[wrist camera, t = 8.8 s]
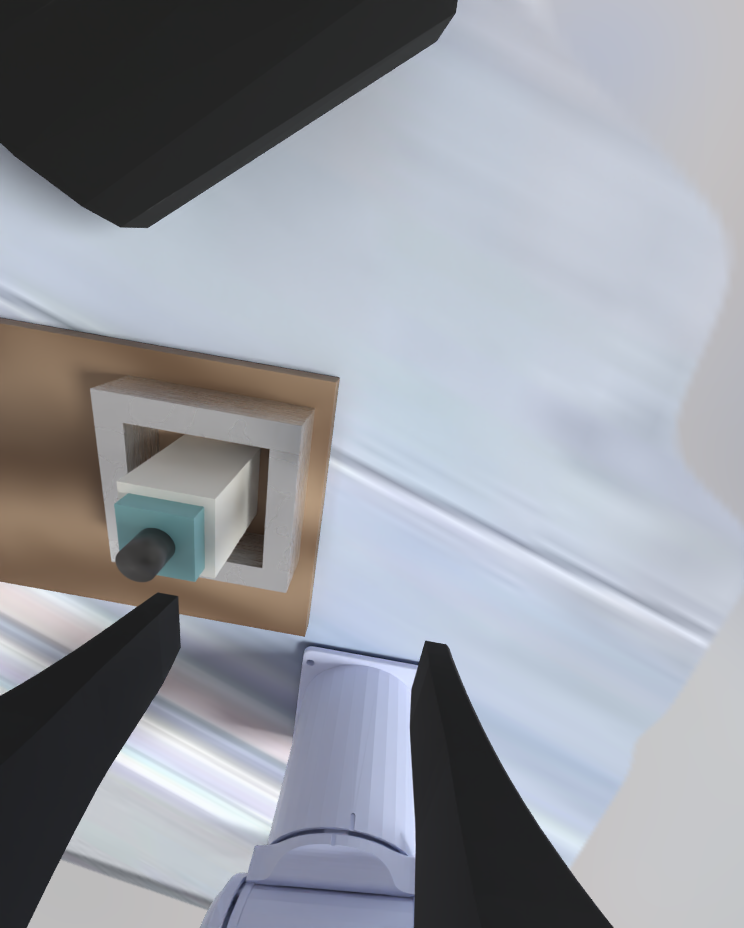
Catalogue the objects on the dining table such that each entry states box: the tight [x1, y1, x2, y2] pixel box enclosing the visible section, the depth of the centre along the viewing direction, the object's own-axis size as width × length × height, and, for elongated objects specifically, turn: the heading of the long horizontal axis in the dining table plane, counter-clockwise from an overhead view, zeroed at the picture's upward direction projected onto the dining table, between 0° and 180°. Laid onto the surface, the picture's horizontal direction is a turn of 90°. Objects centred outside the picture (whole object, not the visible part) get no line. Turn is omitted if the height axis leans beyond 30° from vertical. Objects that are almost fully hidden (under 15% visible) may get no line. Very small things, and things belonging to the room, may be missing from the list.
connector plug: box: [114, 434, 260, 582], centre depth 17 cm, size 4×4×7 cm
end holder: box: [90, 375, 315, 593], centre depth 19 cm, size 8×8×2 cm
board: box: [0, 318, 340, 637], centre depth 21 cm, size 15×20×1 cm
